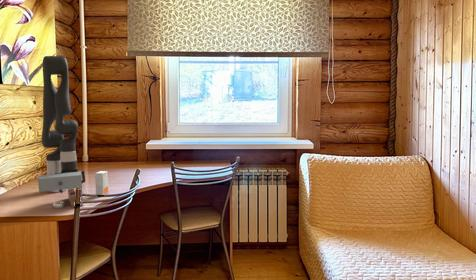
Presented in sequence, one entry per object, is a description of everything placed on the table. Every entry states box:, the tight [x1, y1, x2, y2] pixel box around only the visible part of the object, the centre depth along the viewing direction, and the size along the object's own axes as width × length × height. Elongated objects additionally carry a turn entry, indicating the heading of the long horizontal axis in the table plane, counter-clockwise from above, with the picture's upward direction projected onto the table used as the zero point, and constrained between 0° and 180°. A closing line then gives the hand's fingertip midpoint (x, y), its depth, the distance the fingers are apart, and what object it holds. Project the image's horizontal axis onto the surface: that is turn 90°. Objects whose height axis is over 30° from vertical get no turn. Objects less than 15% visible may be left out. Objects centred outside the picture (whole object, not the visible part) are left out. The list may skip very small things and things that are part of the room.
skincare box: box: [94, 170, 109, 196], centre depth 224 cm, size 6×4×12 cm
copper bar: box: [67, 188, 76, 208], centre depth 210 cm, size 18×2×6 cm, turn 25°
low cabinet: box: [37, 172, 84, 207], centre depth 201 cm, size 10×18×15 cm, turn 115°
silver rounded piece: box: [52, 201, 65, 209], centre depth 202 cm, size 5×5×2 cm
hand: (70, 192), depth 214 cm, fingers open, 8 cm apart
